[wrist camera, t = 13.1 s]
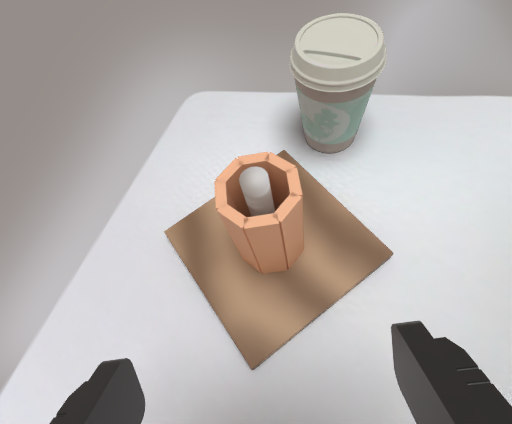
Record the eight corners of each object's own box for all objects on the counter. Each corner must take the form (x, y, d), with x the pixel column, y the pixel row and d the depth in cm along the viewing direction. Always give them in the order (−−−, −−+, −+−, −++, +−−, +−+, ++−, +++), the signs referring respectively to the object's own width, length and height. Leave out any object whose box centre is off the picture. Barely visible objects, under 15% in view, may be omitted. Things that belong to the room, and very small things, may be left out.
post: (284, 156, 37) (275, 65, 26) (390, 257, 30) (436, 188, 19) (168, 236, 34) (105, 170, 24) (253, 369, 27) (218, 362, 16)
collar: (296, 211, 32) (293, 147, 23) (307, 267, 29) (307, 219, 20) (238, 220, 32) (213, 160, 24) (243, 276, 30) (216, 232, 21)
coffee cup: (279, 131, 39) (269, 39, 28) (333, 97, 40) (342, -2, 30) (324, 176, 35) (332, 88, 24) (383, 136, 36) (414, 37, 26)
